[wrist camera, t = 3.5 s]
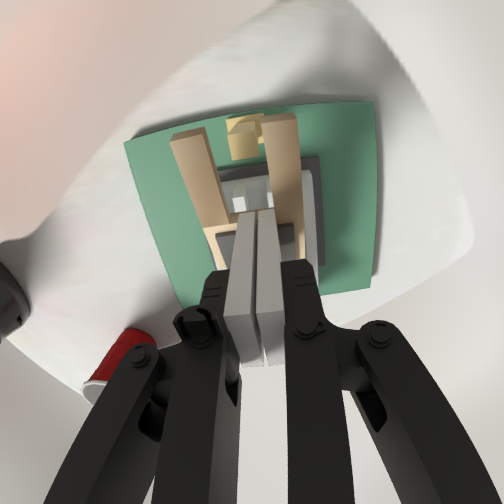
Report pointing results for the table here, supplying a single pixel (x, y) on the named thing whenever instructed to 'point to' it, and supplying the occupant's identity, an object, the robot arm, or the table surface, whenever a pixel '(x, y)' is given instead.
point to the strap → (213, 199)
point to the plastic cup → (112, 363)
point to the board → (269, 191)
